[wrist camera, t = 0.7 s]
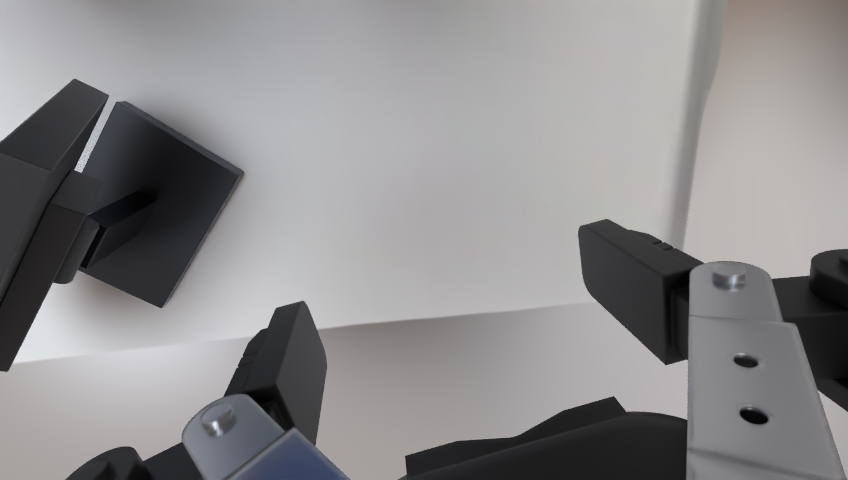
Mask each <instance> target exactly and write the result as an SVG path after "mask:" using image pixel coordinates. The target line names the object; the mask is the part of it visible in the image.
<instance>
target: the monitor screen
mask: <svg viewBox="0 0 848 480" xmlns="http://www.w3.org/2000/svg"><path fill="white" fill-rule="evenodd" d="M108 98H109V95H108V94H106V93H103V92H101V91H99V90H97V89H95V88H93V87H91V86H89V85H87V84H85V83H83V82H81V81H79V80H77V79H73V80H72V81H71V82H70V83H69V84H67V85H66V86H65V87H64V88H63V89H62V90H60V91H59V92H58V93H57V94H56V95H55V96H53V97H52V98H51V99H50V100H49V101H48V102H46V103H45V104H44V105H43V106H42V107H41V108H39V109H38V110H37V111H36V112H35V113H34V114H33V115H31V116H30V117H29V118H28V119H27V120H26V121H24V122H23V123H22V124H21V125H20V126H19V127H17V128H16V129H15V130H14V131H13V132H12V133H10V134H9V135H8V136H7V137H6V138H5V139H3V140H2V141H1V142H0V371H5V372H7V371H9V369H10V367H11V365H12V363H13V361H14V359H15V357H16V355H17V353H18V351H19V349H20V347H21V345H22V343H23V341H24V339H25V337H26V335H27V333H28V331H29V329H30V327H31V325H32V323H33V321H34V319H35V317H36V315H37V313H38V311H39V309H40V307H41V305H42V303H43V301H44V299H45V297H46V295H47V293H48V291H49V289H50V287H51V285H52V283H58V284H67V283H70V282H71V281H72V280H73V278H74V276H75V274H76V272H77V270H78V268H79V266H80V264H81V262H82V260H83V258H84V256H85V255H86V253H87V251H88V249H89V247H90V245H91V243H92V241H93V239H94V237H95V235H96V233H97V231H98V229H99V224H98V223H97V222H96V221H94V220H92V219H90V218H87V217H86V215H87V213H88V211H89V209H90V207H91V205H92V203H93V201H94V198H95V196H96V194H97V192H98V190H99V188H100V186H101V184H102V181H101V180H99V179H96V178H93V177H91V176H88V175H85V174H83V173H80V172H77V171H75V170H74V169H75V167H76V165H77V163H78V160H79V158H80V156H81V154H82V152H83V150H84V148H85V146H86V144H87V142H88V140H89V137H90V135H91V133H92V131H93V129H94V127H95V125H96V123H97V121H98V119H99V117H100V114H101V112H102V110H103V108H104V106H105V104H106V102H107V100H108Z"/></svg>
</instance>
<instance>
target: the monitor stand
mask: <svg viewBox="0 0 848 480" xmlns="http://www.w3.org/2000/svg"><path fill="white" fill-rule="evenodd" d="M82 173H83V174H85V175H88V176H91V177H93V178H96V179H99V180H101V181H102V184H101V186H100V188H99V190H98V192H97V194H96V196H95V198H94V201H93V203H92V205H91V207H90V209H89V211H88V213H87V215H86V217H87V218H90V219H92V220H94V221H96V222H97V223H98V224H99V229H98V231H97V233H96V235H95V237H94V239H93V241H92V243H91V245H90V247H89V249H88V251H87V253H86V255H85V256H84V258H83V260H82V262H81V264H80V266H79V268H78V270H79V271H81V272H83V273H86V274H88V275H90V276H92V277H94V278H96V279H99V280H101V281H103V282H105V283H107V284H109V285H112V286H114V287H116V288H118V289H120V290H122V291H125V292H127V293H129V294H131V295H133V296H135V297H138V298H140V299H142V300H144V301H146V302H148V303H151V304H153V305H155V306H157V307H159V308H163V307H164V305H165V304H166V303H167V302H168V301H169V299H170V297H171V296H172V294H173V292H174V291H175V289H176V287H177V285H178V284H179V282H180V280H181V279H182V277H183V275H184V274H185V272H186V270H187V268H188V267H189V265H190V263H191V262H192V260H193V258H194V257H195V255H196V253H197V251H198V250H199V248H200V246H201V245H202V243H203V241H204V240H205V238H206V236H207V234H208V233H209V231H210V229H211V228H212V226H213V224H214V222H215V221H216V219H217V217H218V216H219V214H220V212H221V211H222V209H223V207H224V205H225V204H226V202H227V200H228V199H229V197H230V195H231V194H232V192H233V190H234V188H235V187H236V185H237V183H238V182H239V180H240V178H241V176H242V175H243V173H244V172H243V171H242V170H240V169H239V168H237V167H235V166H234V165H232V164H230V163H229V162H227V161H225V160H224V159H222V158H220V157H219V156H217V155H215V154H213V153H212V152H210V151H208V150H207V149H205V148H203V147H202V146H200V145H198V144H197V143H195V142H193V141H192V140H190V139H188V138H187V137H185V136H183V135H182V134H180V133H178V132H176V131H175V130H173V129H171V128H170V127H168V126H166V125H165V124H163V123H161V122H160V121H158V120H156V119H155V118H153V117H151V116H150V115H148V114H146V113H145V112H143V111H141V110H139V109H138V108H136V107H134V106H133V105H131V104H129V103H128V102H126V101H122V102H116V103H115V106H114V108H113V110H112V112H111V114H110V116H109V118H108V120H107V122H106V124H105V126H104V128H103V130H102V132H101V134H100V136H99V139H98V141H97V143H96V145H95V147H94V149H93V151H92V153H91V155H90V157H89V159H88V161H87V163H86V165H85V167H84V170H83V172H82Z"/></svg>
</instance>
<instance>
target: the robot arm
mask: <svg viewBox="0 0 848 480" xmlns="http://www.w3.org/2000/svg"><path fill="white" fill-rule="evenodd" d="M578 237H579V246H580V256H581V265H582V274H583V279H584V283H585V285H586V288H587V290H588V291H589V293H590V294H591V296H592V297H593V298H594V299H596V300H597V301H598V302H599V303H600V304H601V305H602V306H603V307H604V308H605V309H606V310H607V311H608V312H610V313H611V314H612V315H613V316H614V317H615V318H616V319H617V320H618V321H619V322H620V323H621V324H622V325H623V326H625V328H627V329H628V330H629V331H630V332H631V333H632V334H633V335H634V336H635V337H636V338H638V340H639V341H640V342H642V343H643V344H644V345H645V346H646V347H647V348H648V349H649V350H650V351H651V352H652V353H653V354H654V355H655V356H656V357H658V358H659V359H660V360H661V361H662V362H663V363H664V364H665V365H668V364H672V363H675V362H679V361H682V360H686V359H687V360H688V417H687V418H688V419H687V420H685V419H682V418H679V417H675V416H670V415H665V414H660V413H651V412H626V411H625V410H624V408H623V407H622V406H621V405H620V404H619V402H618V401H617V400H616V398H615V397H614V396H613V397H609V398H606V399H603V400H599V401H595V402H592V403H589V404H585V405H582V406H578V407H575V408H572V409H568V410H564V411H562V412H560V413H558V414H556V415H555V416H553V417H551V418H549V419H547V420H546V421H544V422H542V423H540V424H538V425H537V426H535V427H533V428H531V429H529V430H528V431H526V432H524V433H522V434H521V435H518V436H515V437H511V438H498V439H482V440H467V441H456V442H453V443H449V444H445V445H442V446H439V447H435V448H431V449H428V450H424V451H421V452H417V453H414V454H411V455H407V456H405V459H406V469H407V475H405V476H403V477H402V478H400V479H398V480H847V478H846V476H845V473H844V470H843V467H842V464H841V461H840V458H839V455H838V451H837V448H836V445H835V442H834V439H833V436H832V433H831V430H830V427H829V424H828V421H827V418H826V414H825V412H824V408H823V405H822V402H821V399H820V396H819V393H818V390H819V391H820V392H822V393H823V394H824V395H825V396H827V397H828V398H830V399H831V400H832V401H834V402H835V403H837V404H838V405H839V406H840V407H842V408H843V409H845V410H846V411H847V412H848V249H839V250H830V251H825V252H822V253H819V254H817V255H815V256H814V257H813V258H812V260H811V268H810V276H801V277H790V278H778V279H771V277H770V275H769V274H768V273H767V272H766V271H764V270H763V269H761V268H758V267H756V266H753V265H750V264H746V263H741V262H733V261H732V262H731V261H717V262H709V263H703V262H701V261H699V260H697V259H695V258H693V257H691V256H689V255H688V254H686V253H684V252H682V251H680V250H678V249H676V248H675V249H673V247H672V246H671V245H669V244H667V243H665V242H664V243H662V241H661V240H659V239H657V238H655V237H653V236H651V235H650V234H647V233H642V232H637V231H633V230H627V229H625V228H623V227H621V226H620V225H618V224H616V223H614V222H612V221H610V220H608V219H605V220H601V221H597V222H593V223H590V224H586V225H582V226H580V228H579V231H578ZM326 370H327V361H326V355H325V350H324V347H323V345H322V342H321V339H320V337H319V334H318V331H317V329H316V326H315V324H314V321H313V319H312V316H311V313H310V311H309V308H308V306H307V304H306V303H305V302H304V301H300V302H296V303H293V304H289V305H285V306H282V307H278V308H276V309H275V311H274V314H273V316H272V319H271V321H270V323H269V326H268V328H266V329H262V330H260V332H259V333H258V334H257V335H256V336H255V337H254V338H253V339H252V340H251V341H250V342H249V343H248V345H247V347H246V349H245V352H244V354H243V357H242V358H241V360H240V362H239V364H238V368H237V369H236V371H235V373H234V375H233V377H232V379H231V382H230V384H229V386H228V388H227V390H226V392H225V395H224V396H223V398H221V399H218V400H216V401H214V402H212V403H211V404H209V405H207V406H206V407H204V408H203V409H201V410H200V411H199V412H198V413H197V414H196V415H195V416H194V417H193V418H192V419H191V420H190V421H189V422H188V424H187V425H186V426H185V428H184V430H183V433H182V442H181V443H179V444H177V445H175V446H173V447H171V448H169V449H167V450H165V451H163V452H161V453H159V454H157V455H155V456H153V457H151V458H149V459H147V460H145V461H142V459H141V458H140V456H139V455H138V453H137V452H136V450H135V449H134V448H132V447H119V448H115V449H112V450H109V451H106V452H104V453H102V454H100V455H98V456H96V457H95V458H93V459H91V460H90V461H88V462H86V463H85V464H84V465H82V466H81V467H79V468H78V469H77V470H76V471H74V472H73V473H72V474H71V475H70V476H69V477H68V478H67V479H66V480H350V479H349V478H348V477H347V476H346V475H345V474H344V473H343V472H342V471H341V470H340V469H339V468H337V467H336V466H335V465H334V464H333V463H332V462H331V461H330V460H329V459H328V458H327V457H326V456H325V455H324V454H323V453H322V452H321V451H319V450H318V449H317V448H316V447H315V445H316V438H317V431H318V425H319V418H320V411H321V404H322V397H323V391H324V384H325V377H326Z"/></svg>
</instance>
